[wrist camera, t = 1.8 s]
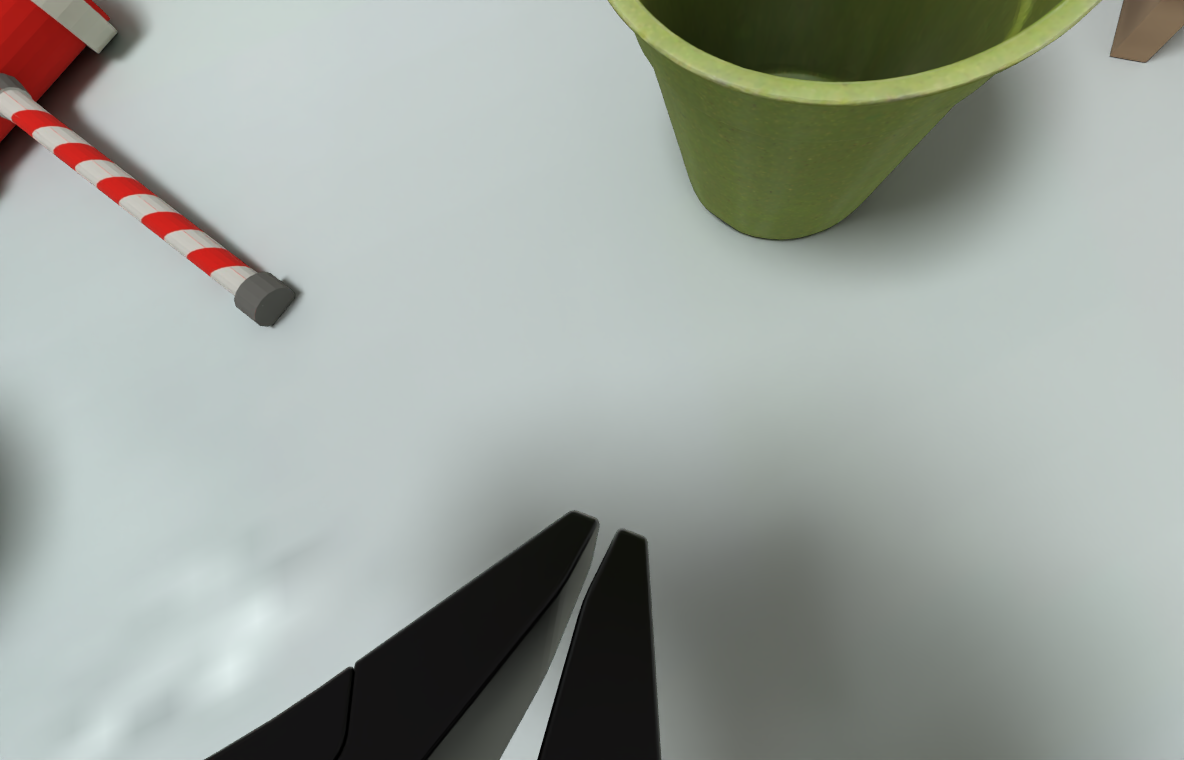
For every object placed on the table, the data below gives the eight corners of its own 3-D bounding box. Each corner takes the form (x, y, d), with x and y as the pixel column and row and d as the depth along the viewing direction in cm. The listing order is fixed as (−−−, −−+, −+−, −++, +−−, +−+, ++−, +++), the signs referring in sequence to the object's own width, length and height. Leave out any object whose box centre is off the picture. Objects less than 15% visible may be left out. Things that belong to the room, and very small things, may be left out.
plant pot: (826, -21, 25) (933, -428, 14) (1005, 201, 22) (1317, -103, 11) (575, 118, 26) (494, -177, 15) (718, 356, 22) (749, 205, 12)
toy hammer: (377, 211, 26) (284, 119, 20) (200, 428, 25) (46, 400, 19) (74, -4, 32) (-71, -128, 26) (-81, 166, 31) (-270, 80, 25)
